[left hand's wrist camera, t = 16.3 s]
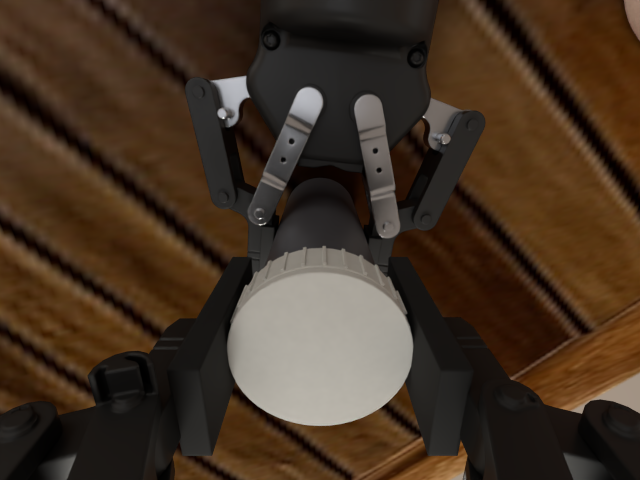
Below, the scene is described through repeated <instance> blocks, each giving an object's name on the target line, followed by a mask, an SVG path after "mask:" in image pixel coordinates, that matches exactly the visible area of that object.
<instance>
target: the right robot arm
mask: <svg viewBox="0 0 640 480" xmlns="http://www.w3.org/2000/svg"><path fill="white" fill-rule="evenodd" d="M438 2H439V0H261V14H260V37H259V46H258V50H257V53H256V56H255V58H254V60H253V62H252V64H251V65H250V67H249V69H248V71H247V75H246V76H241V77H235V78H228V79H221V80H214V81H211V80H208V79H204V78H200V77H195V78H192V79H190V80H189V81H188V82H187V84H186V87H185V93H186V98H187V102H188V106H189V110H190V114H191V118H192V122H193V126H194V130H195V134H196V138H197V142H198V146H199V150H200V154H201V158H202V163H203V167H204V171H205V175H206V179H207V183H208V187H209V191H210V195H211V199H212V201H213V203H214V204H215V205H216V206H217V207H218V208H221V209H228V208H229V209H231V210H233V211H236V212H238V213H240V214H241V215H243V216H244V217H245V218H246V220H247V222H248V226H249V230H248V255H247V257H252V271H253V276H254V274H255V272H256V271H257V272H258V273H259V272H260V270H262V269H263V268H264V267H265V264H266V261H267V258H268V255H269V252H270V250H271V247H272V244H273V241H274V238H275V235H276V232H277V230H278V227H279V216H278V215H276V206H277V204H278V202H279V200H280V198H281V196H282V193H283V191H284V189H285V187H286V185H287V183H288V181H289V178H290V176H291V174H292V172H293V170H294V168H295V165H296V163H298V166H303V167H313V168H315V167H321V166H328V165H332V166H335V167H337V168H340V169H342V170H345V171H349V172H358V173H361V177H362V181H363V185H364V189H365V193H366V198H367V203H368V208H369V213H370V220H369V225H364V229H363V232H364V234H365V237H366V240H367V243H368V246H369V249H370V251H371V254H372V257H373V260H374V263H375V265H378V267H379V269H380V271H381V272H382V273H383V274H384V275H385V276H386V278H387V274H388V260H389V257H391V253H392V248H393V243H394V240H395V238H396V237H397V235H399V234H400V233H401V232H403V231H407V230H411V229H415V228H418V229H420V230H429V229H431V228H433V227H434V226H435V225H436V223H437V221H438V219H439V217H440V215H441V213H442V211H443V209H444V207H445V205H446V203H447V201H448V199H449V197H450V195H451V193H452V191H453V189H454V187H455V185H456V183H457V181H458V179H459V177H460V175H461V173H462V171H463V169H464V167H465V165H466V163H467V161H468V159H469V157H470V155H471V153H472V151H473V149H474V147H475V145H476V143H477V141H478V139H479V137H480V135H481V133H482V132H483V130H484V127H485V118H484V116H483V114H482V113H480V112H478V111H472V110H460V109H457V108H455V107H452V106H450V105H448V104H445V103H443V102H440V101H438V100H435V99H433V98H431V91H430V87H429V84H428V80H427V75H426V64H427V58H428V53H429V48H430V43H431V38H432V33H433V28H434V22H435V17H436V12H437V7H438ZM250 98H251V100H252V101H253V103H254V105H255V106H256V108H257V110H258V111H259V113H260V115H261V116H262V118H263V120H264V121H265V123H266V125H267V126H268V128H269V130H270V131H271V133H272V135H273V137H274V138H275V140H276V144H275V146H274V149H273V151H272V153H271V156H270V158H269V160H268V163H267V165H266V167H265V169H264V172H263V174H262V178H261V181H260V183H259V185H258V187H257V188H255V187H253V186H251V185H249V184H247V183H245V181H244V176H243V172H242V167H241V162H240V157H239V152H238V148H237V143H236V138H235V133H234V128H233V126H235V125H237V124H239V123H240V122H241V120H242V117H243V106H244V104H245V102H246V101H247V100H248V99H250ZM420 119H422V121H423V122H424V125H425V132H424V135H423V140H424V143H425V145H426V146H427V147H429V149H428V151H427V154H426V156H425V158H424V160H423V162H422V165H421V167H420V169H419V171H418V173H417V175H416V178H415V180H414V182H413V184H412V186H411V189H410V191H409V193H408V195H407V197H406V199H405V200H403V201H399V202H396V198H395V182H394V177H393V171H392V165H391V159H390V154H389V152H390V151H391V150H392V149H393V148H394V147H395V146H396V145H397V144H398V142H399V141H400V140H401V139H402V138H403V137H404V136H405V135H406V134H407V133H408V132H409V131H410V130H411V129H412V128H413V127H414V126H415V125H416V124H417V122H418V121H419V120H420Z"/></svg>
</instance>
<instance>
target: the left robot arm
mask: <svg viewBox="0 0 640 480" xmlns="http://www.w3.org/2000/svg"><path fill="white" fill-rule="evenodd" d="M388 276H389V277H390V279H391V281H392V284H393V286H394V289H395V291H398V292H399V295H400V297H401V299H402V302H403V304H404V306H405V309H406V311H407V314H405V315H406V317H407V320H408V322H409V325H410V327H411V332H412V336H413V355H412V363H411V368H410V371H409V373H408V376H407V378H406V380H405V383H406V386H407V389H408V393H409V396H410V399H411V402H412V405H413V409H414V412H415V415H416V418H417V421H418V425H419V428H420V431H421V434H422V438H423V441H424V444H425V447H426V450H427V454H428V456H458V451H459V445H460V440H461V441H462V443H463V446H464V448H465V450H466V453H467V455H468V457H467V461H466V466H465V471H464V476H463V480H640V413H638V412H636V411H634V410H632V409H631V408H629V407H626V406H624V405H621V404H618V403H616V402H613V401H606V400H593V401H590V402H589V403H587V404H586V405H585V407H584V410H583V413H582V414H580V413H576V412H572V411H568V410H563V409H559V408H555V407H551V406H548V405H545V404H543V402H542V400H541V399H540V397H539V396H538V395H537V394H536V393H535V392H533V391H532V390H531V389H530V388H529V387H527V386H525V385H523V384H521V383H519V382H517V381H513V380H510V378H509V377H508V375H507V374H506V373H505V371H504V370H503V368H502V367H501V365H500V364H499V363H498V361H497V360H496V358H495V357H494V355H493V354H492V353H491V351H490V350H489V349H487V345H486V344H485V343H484V341H483V340H482V339H481V337H480V336H479V334H478V333H477V331H476V330H475V328H474V327H473V326H472V325H470V324H469V323H468V322H466V321H465V320H463V319H462V318H461V317H442V315H441V313H440V312H439V310H438V308H437V307H436V305H435V303H434V302H433V300H432V298H431V296H430V295H429V293H428V291H427V290H426V288H425V286H424V285H423V283H422V281H421V279H420V278H419V276H418V274H417V273H416V271H415V269H414V267H413V266H412V264H411V262H410V261H409V259H408V257H389V260H388V274H387V277H388ZM252 279H253V271H252V257H233V258H232V259H231V261H230V263H229V264H228V266H227V268H226V270H225V271H224V273H223V275H222V276H221V278H220V280H219V281H218V283H217V285H216V287H215V288H214V290H213V292H212V293H211V295H210V297H209V298H208V300H207V302H206V304H205V305H204V307H203V309H202V310H201V312H200V314H199V316H198V317H197V319H179V320H177V321H176V322H174V323H173V324H172V325H170V326H169V327H167V329H166V330H165V332H164V333H163V334H162V336H161V337H160V340H159V341H158V342H157V343H156V344H155V346H154V347H153V350H151V352H150V353H149V354H148V353H145V352H141V351H128V352H124V353H120V354H116V355H114V356H112V357H109V358H107V359H105V360H103V361H102V362H101V363H99V364H98V365H97V366H95V367H94V368H93V369H92V371H91V372H90V373H89V375H88V379H89V382H90V386H91V389H92V393H93V396H94V400H95V403H96V406H94V407H90V408H87V409H83V410H79V411H75V412H70V413H66V414H62V415H58V412H57V409H56V407H55V406H54V405H53V404H52V403H50V402H44V401H37V402H31V403H26V404H24V405H21V406H18V407H15V408H13V409H11V410H9V411H8V412H6V413H4V414H2V415H0V480H174V475H175V468H174V461H173V455H174V453H175V450H176V448H177V445H178V443H179V441H180V444H181V450H182V455H183V456H212V454H213V451H214V448H215V445H216V441H217V438H218V435H219V432H220V429H221V425H222V422H223V419H224V416H225V412H226V409H227V406H228V403H229V400H230V396H231V393H232V390H233V387H234V384H235V379H234V377H233V375H232V372H231V369H230V366H229V361H228V353H227V340H228V334H229V331H230V327H231V324H230V320H231V318H232V316H233V313H234V311H235V309H236V306H237V304H238V301H239V299H240V297H241V294H242V292H243V290H244V287H245V285H249V284H250V282H251V281H252Z"/></svg>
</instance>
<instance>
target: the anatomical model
mask: <svg viewBox="0 0 640 480" xmlns="http://www.w3.org/2000/svg"><path fill="white" fill-rule="evenodd" d="M624 4H625V11H626V15H627V18H628V21H629V23H630V26H631V28H632V30H633V31H634V33H635V35H636V36H637V38H638V39H639V41H640V0H624Z"/></svg>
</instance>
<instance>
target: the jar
mask: <svg viewBox="0 0 640 480" xmlns="http://www.w3.org/2000/svg"><path fill="white" fill-rule="evenodd" d="M322 246H326V248H328V249H336V250H342V249H345V252H348V253H351V254H354V255H357V256H360V255H362V256H363V258H364V259H365V260H366V261H368V262H370V263H371V264H373V265H374V266H375V263H374V260H373V257H372V254H371V251H370V249H369V246H368V243H367V240H366V237H365V234H364V232H363V229H362V226H361V223H360V220H359V218H358V215H357V212H356V209H355V206H354V203H353V201H352V198H351V196H350V194H349V193H348V191H347V190H346V189H345V188H344V187H343V186H342V185H341V184H339V183H338V182H336V181H334V180H331V179H327V178H313V179H309V180H306V181H304V182H302V183H301V184H299V185H298V186H297V187H296V188H295V189H294V190H293V191H292V193H291V194H290V196H289V198H288V201H287V204H286V207H285V210H284V212H283V215H282V218H281V221H280V224H279V227H278V230H277V232H276V235H275V238H274V241H273V244H272V247H271V250H270V252H269V255H268V258H267V261H266V264H265V266H267V263H268V261H270V260H271V261H274V260H276V259H277V258H279V257H282V256H284V253H285V252H288V254H289V253H292V252H295V251H299V250H303V247H306V248H307V249H311V248H322Z"/></svg>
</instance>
